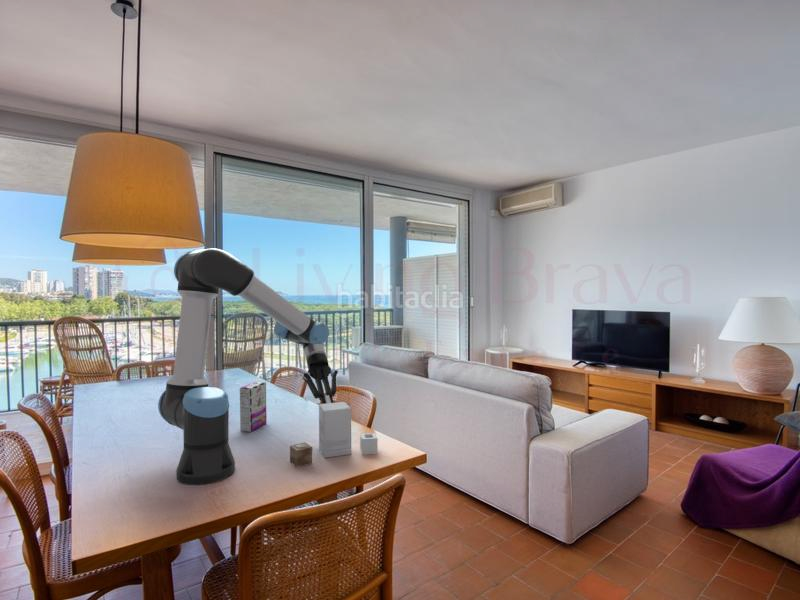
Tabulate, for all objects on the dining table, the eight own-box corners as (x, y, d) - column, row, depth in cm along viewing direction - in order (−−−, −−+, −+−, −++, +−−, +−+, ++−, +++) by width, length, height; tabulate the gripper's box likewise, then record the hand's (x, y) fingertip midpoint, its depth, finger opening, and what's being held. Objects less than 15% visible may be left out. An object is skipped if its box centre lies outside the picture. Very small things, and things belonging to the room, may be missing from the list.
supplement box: (345, 445, 144) (345, 401, 144) (351, 454, 136) (352, 407, 136) (318, 448, 141) (318, 403, 141) (323, 458, 133) (323, 410, 132)
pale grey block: (361, 454, 136) (362, 438, 136) (360, 449, 141) (360, 433, 141) (377, 453, 137) (377, 437, 137) (375, 448, 142) (375, 432, 142)
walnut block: (296, 467, 126) (296, 449, 126) (289, 461, 130) (290, 445, 130) (312, 463, 129) (312, 446, 129) (305, 458, 133) (305, 441, 133)
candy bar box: (255, 422, 168) (255, 381, 168) (266, 423, 167) (266, 381, 167) (239, 431, 157) (239, 387, 157) (251, 432, 156) (251, 388, 156)
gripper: (330, 362, 164) (345, 417, 150) (297, 365, 158) (309, 422, 144) (335, 350, 160) (351, 405, 145) (300, 353, 154) (313, 410, 139)
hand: (330, 414), depth 145 cm, fingers closed
